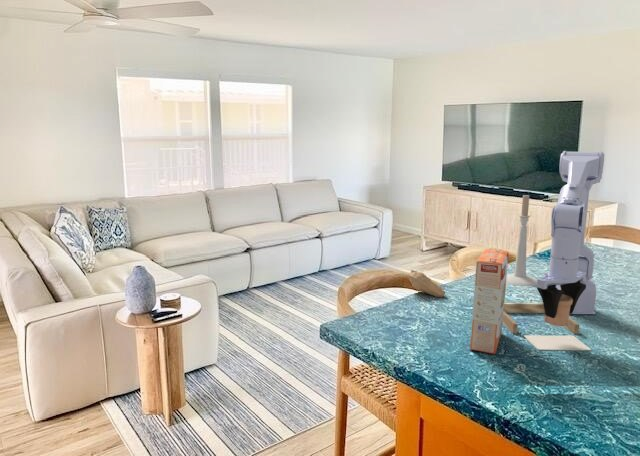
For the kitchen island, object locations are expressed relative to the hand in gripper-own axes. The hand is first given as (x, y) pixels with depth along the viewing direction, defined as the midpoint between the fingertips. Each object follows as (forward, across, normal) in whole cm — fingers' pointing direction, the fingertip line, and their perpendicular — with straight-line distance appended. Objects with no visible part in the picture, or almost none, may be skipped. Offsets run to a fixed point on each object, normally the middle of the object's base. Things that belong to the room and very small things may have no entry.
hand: (558, 314), depth 112 cm
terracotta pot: (+2, 0, -1) cm, 2 cm away
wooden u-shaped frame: (+7, -6, -12) cm, 15 cm away
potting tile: (+7, 0, 0) cm, 7 cm away
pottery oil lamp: (+7, +3, -43) cm, 44 cm away
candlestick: (+7, -33, -38) cm, 51 cm away
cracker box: (+7, +14, -8) cm, 18 cm away
